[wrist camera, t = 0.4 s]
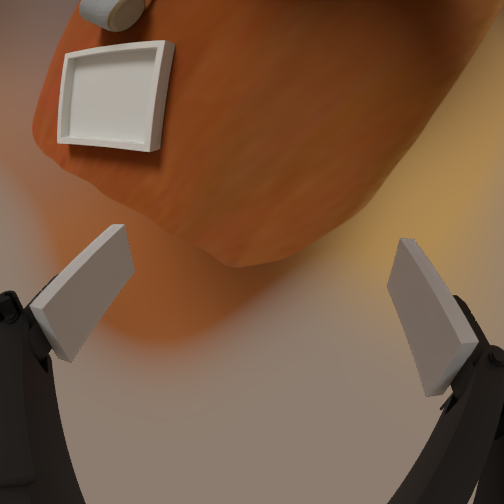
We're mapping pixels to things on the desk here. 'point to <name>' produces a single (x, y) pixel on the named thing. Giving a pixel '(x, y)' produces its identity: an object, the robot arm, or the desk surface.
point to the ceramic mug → (112, 13)
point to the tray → (115, 95)
